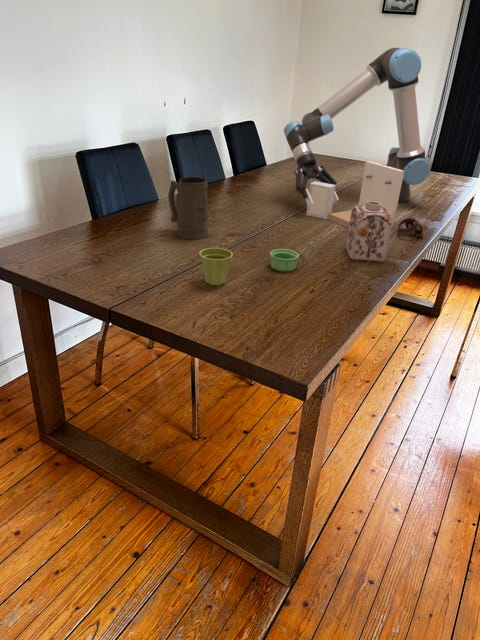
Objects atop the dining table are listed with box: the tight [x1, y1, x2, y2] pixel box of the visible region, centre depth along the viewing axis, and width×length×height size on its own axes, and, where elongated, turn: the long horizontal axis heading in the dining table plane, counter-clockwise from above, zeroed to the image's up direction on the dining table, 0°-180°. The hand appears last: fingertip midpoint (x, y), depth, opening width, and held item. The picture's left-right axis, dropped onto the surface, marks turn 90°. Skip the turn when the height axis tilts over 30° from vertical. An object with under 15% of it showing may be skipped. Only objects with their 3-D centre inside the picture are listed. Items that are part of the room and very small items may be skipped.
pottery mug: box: [396, 216, 424, 239], centre depth 195 cm, size 12×10×8 cm
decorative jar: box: [345, 201, 393, 262], centre depth 172 cm, size 12×12×18 cm
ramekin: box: [269, 248, 300, 272], centre depth 162 cm, size 9×9×4 cm
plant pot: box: [198, 247, 233, 286], centre depth 148 cm, size 9×9×9 cm
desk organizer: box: [328, 160, 404, 229], centre depth 201 cm, size 18×18×22 cm
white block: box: [305, 180, 337, 220], centre depth 210 cm, size 5×9×13 cm, turn 58°
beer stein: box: [167, 176, 209, 240], centre depth 180 cm, size 15×11×20 cm
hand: (323, 203), depth 209 cm, fingers open, 13 cm apart
